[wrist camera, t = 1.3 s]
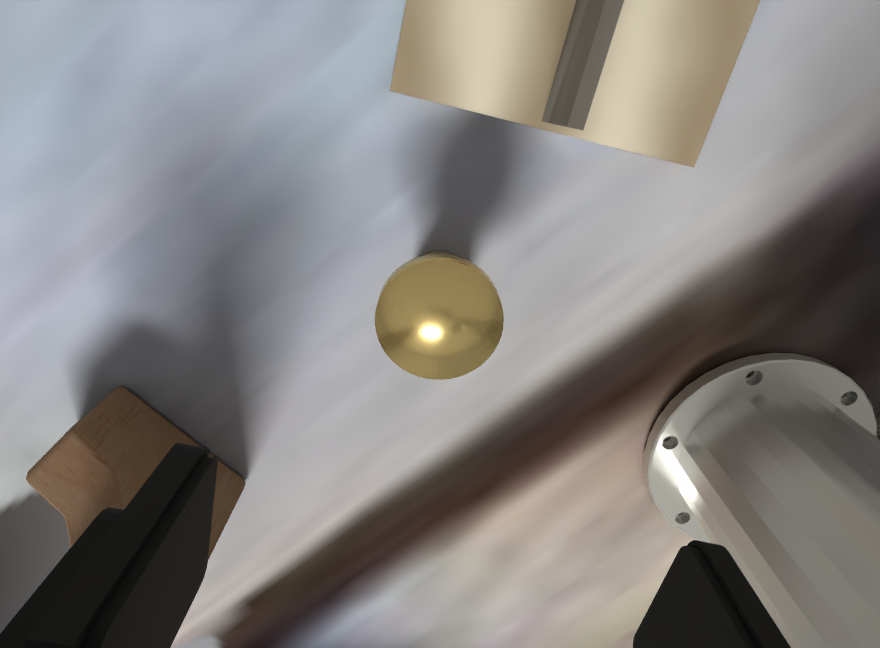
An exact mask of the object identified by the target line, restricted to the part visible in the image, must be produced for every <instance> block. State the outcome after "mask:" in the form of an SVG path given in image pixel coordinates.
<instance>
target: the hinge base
mask: <svg viewBox="0 0 880 648" xmlns="http://www.w3.org/2000/svg"><path fill="white" fill-rule="evenodd" d="M759 2H760V0H407V1H406V7H405V12H404V17H403V23H402V28H401V34H400V39H399V45H398V50H397V56H396V61H395V67H394V72H393V77H392V83H391V88H390V91H393V92H397V93H401V94H405V95H409V96H413V97H417V98H421V99H425V100H429V101H433V102H437V103H441V104H445V105H449V106H453V107H457V108H461V109H464V110H468V111H472V112H476V113H480V114H484V115H488V116H492V117H496V118H500V119H504V120H508V121H512V122H516V123H520V124H524V125H528V126H532V127H536V128H540V129H544V130H548V131H552V132H556V133H560V134H564V135H568V136H572V137H575V138H579V139H583V140H587V141H591V142H595V143H599V144H603V145H607V146H611V147H615V148H619V149H623V150H627V151H631V152H635V153H639V154H643V155H647V156H651V157H655V158H659V159H663V160H667V161H671V162H675V163H679V164H683V165H687V166H690V167H694V166H695V164H696V161H697V159H698V156H699V154H700V151H701V149H702V146H703V144H704V141H705V139H706V136H707V133H708V131H709V128H710V126H711V123H712V121H713V118H714V116H715V113H716V111H717V108H718V106H719V103H720V101H721V98H722V96H723V93H724V91H725V88H726V86H727V83H728V80H729V78H730V75H731V73H732V70H733V68H734V65H735V63H736V60H737V58H738V55H739V53H740V50H741V48H742V45H743V43H744V40H745V38H746V35H747V32H748V30H749V27H750V25H751V22H752V20H753V17H754V15H755V12H756V10H757V7H758V5H759Z"/></svg>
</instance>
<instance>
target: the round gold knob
mask: <svg viewBox="0 0 880 648" xmlns="http://www.w3.org/2000/svg"><path fill="white" fill-rule="evenodd" d="M503 321H504V319H503V310H502V305H501V302H500V299H499V296H498V293H497V290H496V288H495V286H494V284H493V282H492V281H491V279H490V278H489V277H488V275H487V274H486V273H485V272H484V271H483V270H482V269H481V268H479V267H478V266H477V265H475V264H474V263H472V262H470V261H468V260H466V259H464V258H462V257H458V256H455V255H452V254H450V253H448V252H444V251H433V252H429V253H427V254H425V255H423V256H420V257H417V258H415V259H412V260H410V261H408V262H406V263H405V264H403V265H402V266H400V267H399V268H398V269H397V270H396V271H395V272H394V273H393V274H392V275H391V276H390V277H389V278H388V280H387V281H386V283H385V285H384V286H383V289H382V291H381V293H380V297H379V300H378V304H377V308H376V313H375V327H376V333H377V336H378V339H379V342H380V344H381V346H382V348H383V349H384V351H385V353H386V354H387V355H388V356H389V358H390V359H391V360H392V361H393V362H394V363H395V364H397V365H398V366H399V367H401V368H402V369H403V370H405V371H407V372H409V373H411V374H414V375H416V376H419V377H423V378H428V379H451V378H455V377H459V376H462V375H465V374H467V373H469V372H471V371H473V370H475V369H476V368H478V367H479V366H480V365H482V364H483V363H484V362H485V361H486V360H487V359H488V358H489V357H490V356H491V354H492V353H493V352H494V350H495V349H496V347H497V345H498V343H499V340H500V338H501V334H502V330H503Z"/></svg>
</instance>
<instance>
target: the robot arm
mask: <svg viewBox="0 0 880 648" xmlns="http://www.w3.org/2000/svg"><path fill="white" fill-rule="evenodd" d="M217 465H218V460H217V458H214V457H209V450H208V448H204V447H199V446H194V445H188V444H183V443H176V444H174V445H173V447H172V448H171V449H170V450H169V452H168V453H167V454H166V456H165V457H164V458H163V459H162V461H161V462H160V463H159V465H158V466H157V467H156V469H155V470H154V471H153V473H152V474H151V475H150V476H149V478H148V479H147V480H146V482H145V483H144V484H143V486H142V487H141V488H140V490H139V491H138V492H137V493H136V495H135V496H134V497H133V499H132V500H131V501H130V503H129V504H128V505H127V507H126V508H125V509H124V510H122V509H116V508H111V507H108V508H106V509H104V510H102V511H101V512H100V513H99V514H98V515H97V517H96V518H95V519H94V520H93V521H92V523H91V524H90V525H89V526H88V527H87V529H86V530H85V531H84V532H83V534H82V535H81V536H80V537H79V538H78V540H77V541H76V542H75V543H74V545H73V546H72V547H71V548H70V549H69V551H68V552H67V553H66V554H65V555H64V557H63V558H62V559H61V561H60V562H59V563H58V564H57V565H56V567H55V568H54V569H53V570H52V571H51V573H50V574H49V575H48V576H47V578H46V579H45V580H44V581H43V582H42V584H41V585H40V586H39V587H38V589H37V590H36V591H35V592H34V593H33V595H32V596H31V597H30V598H29V600H28V601H27V602H26V603H25V604H24V606H23V607H22V608H21V609H20V610H19V612H18V613H17V614H16V615H15V617H14V618H13V619H12V620H11V621H10V623H9V624H8V625H7V626H6V628H5V629H4V630H3V631H2V633H1V634H0V648H170V647H171V645H172V643H173V641H174V639H175V637H176V635H177V633H178V630H179V628H180V626H181V624H182V622H183V620H184V618H185V616H186V614H187V612H188V610H189V608H190V606H191V604H192V602H193V600H194V598H195V596H196V594H197V592H198V589H199V587H200V585H201V583H202V581H203V578H204V575H205V572H206V568H207V563H208V554H209V544H210V534H211V524H212V514H213V504H214V494H215V485H216V475H217ZM643 471H644V476H645V482H646V486H647V488H648V490H649V493H650V495H651V497H652V499H653V501H654V503H655V504H656V506H657V508H658V509H659V511H660V512H661V514H662V516H663V517H664V518H665V519H666V520H667V521H668V522H669V523H670V524H671V525H672V526H673V527H675V528H676V529H678V530H680V531H681V532H683V533H684V534H686V535H688V536H689V537H692V538H695V539H698V540H700V541H697V540H693V541H691V542H690V543H689V544H688V545H687V546H683V547H681V549H680V550H679V552H678V554H677V556H676V557H675V559H674V561H673V563H672V565H671V567H670V569H669V571H668V573H667V575H666V577H665V578H664V580H663V582H662V584H661V586H660V588H659V590H658V592H657V594H656V596H655V598H654V599H653V601H652V603H651V605H650V607H649V609H648V611H647V613H646V615H645V617H644V619H643V620H642V622H641V624H640V626H639V628H638V630H637V632H636V634H635V636H634V641H633V648H880V439H879V438H877V421H876V418H875V414H874V410H873V406H872V404H871V403H870V401H869V399H868V397H867V396H866V394H865V392H864V391H863V390H862V389H861V388H860V387H859V386H858V385H857V384H856V383H855V382H854V381H853V380H852V379H851V378H850V377H848V376H847V375H845V374H844V373H842V372H841V371H839V370H838V369H836V368H835V367H833V366H831V365H829V364H827V363H825V362H823V361H820V360H818V359H816V358H812V357H808V356H803V355H799V354H793V353H768V354H760V355H753V356H748V357H744V358H741V359H738V360H735V361H731V362H728V363H725V364H723V365H721V366H719V367H717V368H715V369H713V370H711V371H709V372H707V373H705V374H703V375H702V376H700V377H699V378H698V379H696V380H695V381H693V382H692V383H690V384H689V385H687V386H686V387H685V388H684V389H683V390H682V391H681V392H680V393H679V394H677V395H676V396H675V397H674V398H673V399H672V400H671V401H670V402H669V404H668V405H667V406H666V408H665V409H664V410H663V412H662V413H661V414H660V416H659V417H658V418H657V420H656V422H655V424H654V426H653V428H652V430H651V432H650V434H649V437H648V440H647V444H646V448H645V451H644V465H643Z"/></svg>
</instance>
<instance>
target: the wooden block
mask: <svg viewBox="0 0 880 648" xmlns="http://www.w3.org/2000/svg"><path fill="white" fill-rule="evenodd" d="M176 443H183V444H188V445H194V446H199V447H202V446H200V445H199V444H198V443H196V442H195V441H194V440H193V439H191V438H190V437H189V436H187V435H186V434H185V433H183V432H182V431H181V430H180V429H178V428H177V427H176V426H174V425H173V424H172V423H171V422H169V421H168V420H167V419H165V418H164V417H163V416H161V415H160V414H159V413H158V412H156V411H155V410H154V409H152V408H151V407H150V406H148V405H147V404H146V403H145V402H143V401H142V400H141V399H139V398H138V397H137V396H135V395H134V394H133V393H132V392H130V391H129V390H128V389H126V388H124V387H119V388H116V389H114V390H113V391H111V392H110V393H109V394H108V395H107V396H106V397H105V398H104V399H103V400H101V401H100V402H99V403H98V404H97V405H96V406H95V407H94V408H93V409H91V410H90V411H89V412H88V413H87V414H86V415H85V416H84V417H83V418H81V419H80V420H79V421H78V422H77V423H76V424H75V425H74V426H73V427H71V428H70V430H69V431H68V432H67V433H66V434H65V435H64V436H63V437H62V438H61V439H60V440H59V441H58V442H57V443H56V444H55V445H54V446H53V447H52V448H51V449H50V450H49V451H48V452H47V453H46V454H45V455H44V456H43V457H42V458H41V459H40V460H39V461H38V462H37V463H36V464H35V465H34V466H33V467H32V468H31V469H30V470H29V471H28V474H27V477H26V480H27V482H28V483H29V484H30V485H31V486H32V487H33V488H34V489H35V490H36V491H37V492H38V493H40V494H41V495H42V496H43V497H44V498H45V499H46V500H47V501H48V502H49V503H50V504H51V505H52V506H54V507H55V508H56V509H57V510H58V511H59V512H60V513H61V514H62V515H63V516H64V517H65V520H66V526H67V531H68V536H69V542H70V547H72V546H73V545H74V543H75V542H76V541H77V540H78V538H79V537H80V536H81V535H82V534H83V532H84V531H85V530H86V529H87V527H88V526H89V525H90V524H91V523H92V521H93V520H94V519H95V518H96V517H97V515H98V514H99V513H100V512H101V511H102V510H104V509H106V508H108V507H111V508H116V509H122V510H124V509H125V508H126V507H127V505H128V504H129V503H130V501H131V500H132V499H133V497H134V496H135V495H136V493H137V492H138V491H139V490H140V488H141V487H142V486H143V484H144V483H145V482H146V480H147V479H148V478H149V476H150V475H151V474H152V473H153V471H154V470H155V469H156V467H157V466H158V465H159V463H160V462H161V461H162V459H163V458H164V457H165V456H166V454H167V453H168V452H169V450H170V449H171V448H172V447H173V445H174V444H176ZM209 457H214V458H216V457H215V456H213V455H212V454H211V453H209ZM217 460H218V465H217V475H216V485H215V494H214V504H213V514H212V524H211V534H210V544H209V554H208V559H209V557H210V555H211V553H212V551H213V549H214V547H215V545H216V543H217V541H218V539H219V537H220V535H221V533H222V531H223V529H224V527H225V525H226V523H227V521H228V519H229V517H230V515H231V513H232V511H233V509H234V507H235V505H236V503H237V501H238V499H239V497H240V495H241V493H242V491H243V489H244V486H245V481H244V479H243V478H242V477H241V476H239V475H238V474H237V473H235V472H234V471H233V470H231V469H230V468H229V467H228V466H226V465H225V464H224V463H222V462H221V461H220V460H219V459H217Z"/></svg>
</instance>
